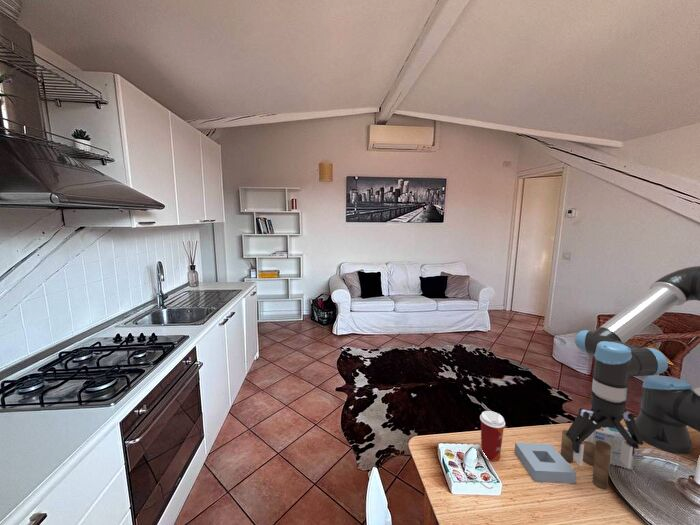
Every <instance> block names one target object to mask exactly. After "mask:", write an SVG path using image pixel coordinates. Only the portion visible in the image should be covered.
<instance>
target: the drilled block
mask: <svg viewBox="0 0 700 525" xmlns="http://www.w3.org/2000/svg"><path fill="white" fill-rule="evenodd" d="M514 443H515V444H514V454H515V455H516V456H517V458H518V459H519V460H520V462H521V463H522V465H523V466H524V468H525V469H526V471H527V473H528V474H529V475H530V477H531V478H532V480H533V481H534V482H538V483H539V482H543V483H562V484H576V480H577V472H576V470H575V469H574V468H573V467H572V465H571V464H569V462H567V461H566V460H565V459H564V458H563V457H562V456H561V452H559V451H558V450H557V449H556V448H555V446H554V445H553V444H552V443H539V442H538V443H537V442H535V443H533V442H532V443H531V442H514Z"/></svg>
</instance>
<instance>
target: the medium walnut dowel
mask: <svg viewBox="0 0 700 525" xmlns="http://www.w3.org/2000/svg"><path fill="white" fill-rule="evenodd" d="M561 431H562V432H561V433H562V435H561V444H560V445H561V446H560V455H561V456H562V457H563V458H564V459H565V460H566V461H567V463H570V464H571V463H573V462H574V459H573V453H574V451H573V450H572V441H571V440H570V439H569V438H568V437H567V436H566V432H567V431H568V429H563V430H561Z"/></svg>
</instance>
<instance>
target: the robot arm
mask: <svg viewBox="0 0 700 525" xmlns="http://www.w3.org/2000/svg"><path fill="white" fill-rule="evenodd" d="M688 301H698V302H700V265H697V266H696V265H695V266H690V267H689V266H688V267H685V268H682V269H678V270H675V271H672V272H670V273H668V274H666V275H664V276H662V277H660V278H659V279H657V280H656V281H654V282H653V283H651V285H650V286H649V290H648V291H646V292H644V294H643V295H641V296H640V297H638V298H636V300H634V301H633V302H632V303H630V304H629V305H627V306H626V307H625V308H624V309H623V310H621V311H619V312H618V313H616V314H615V315H614V316H613V317H611V318H610V319H608V320H607V321H606V322H605V323H603V324H602V325H600V326H599V327H598V328H596V329H595V330H594V331H592V330H587V329H584V330H580V331H579V332H578V333H577V334H576V335H575V338H574V343H575V346H576V348H577V349H578V350H580V351H582V352H584V353H585V354H587V355H589V356H592V357H594V364H593V365H594V366H593V374H592V376H593V377H592V382H591V383H592V385H591V390H592V391H591V394H590V405H591V408H590V410H588V409H584V408H583V407H580V408H579V409H578V413H577V416H576V417H575V419H574V420H573V422H572V424H571V425H570V426H569V428H568V429H567V430H568V431H567V432H566V436H567V437H568V438H569V439H570V440H571V441H572V450H573V451H574V453H573V461H575V462H576V463H577V464H578V465H579V466H583V463H584V461H583V451H584V442H585V441H586V440H587V438H588V437H589V436H590V435H591V434H592V433H593V432H594V431H595V430H596V429H600V428H601V427H602V428H606V427H609V428H614V427H615V428H616V429H617V430H618V431H619V433H620V434H621V435H622V436H623V438H624V439H625V440H626V441H627V442H626V441H622V447H621V456H620V461H621V462H622V463H623V464H624V465H625V466H626V467H627V468H631V460H632V456H633V455H634V456H635V450H636V449H639V448H640V446H642V445H644V442H645V443H647V444H649V445H651V446H652V447H655V448H658V449H661V450H664V451H666V452H668V453H669V452H670V453H674V454H680V455H681V454H682V455H685V454H687V455H688V454H690V453H691V452H692V450H693V442H692V440H691V437H690V433H689V429H688V427H689V428H691V429H693V430H695V431H697V432H699V433H700V386H698V387H695V388H694V389H693V387H692V384H691V383H690V382H688V381H687V380H684V379H681V378H677V377H672V376H666V375H661V374H663V373H665V372H666V371H667V370H668V367H669V361H668V359H667V357H666V356H665V354H663V352H661V351H660V350H658V349H656V348H652V347H637V346H635V345H631V344H629V343H627V341H629V340H630V339H632V338H633V337H634V336H635V335H637V334H639V333H640V332H641V331H643V329H645V328H646V327H647V326H649V325H651V323H653V322H655V321H656V320H657V319H658V318H660V317H661V316H662V315H664V314H665V313H666V312H668V311H669V310H671V309H672V308H673V307H675V306H677V307H678V306H681V305H682V306H683V304H685V303H686V302H688ZM644 376H645V377H644ZM629 377H644V379H643V383H642V390H641V401H640V410H639V413H638V414H637V416H635V415H634V414H633V413H631V412H630V411H628V409H626V405H627V404H626V403H627V402H626V401H627V396H628V386H629V385H628V384H629ZM622 420H623V421H624V423H625V425H626V428H627V429H628V430H629V433H630V435H631V436H630V435H629V434H628V433H627V431H626V430H625V429H624V427H625V426H623V425H622V422H621V421H622ZM593 421H595V422H596V423H597V424H594V423H593ZM687 426H688V427H687ZM631 437H632V438H631Z"/></svg>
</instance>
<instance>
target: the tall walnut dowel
mask: <svg viewBox="0 0 700 525" xmlns="http://www.w3.org/2000/svg"><path fill="white" fill-rule="evenodd" d="M610 454H611V446H610V445H609V444H608V443H606V442H604V441H600V440H597V441H596V447H595V458H594V466H593V470H592V471H593V472H592V484H593V485H594V486H595V487H596V488H598V489H599V490H603V491H604V490H605V491H606V490H607V489H608V483H609V474H610V473H609V472H610V465H611V464H610Z"/></svg>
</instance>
